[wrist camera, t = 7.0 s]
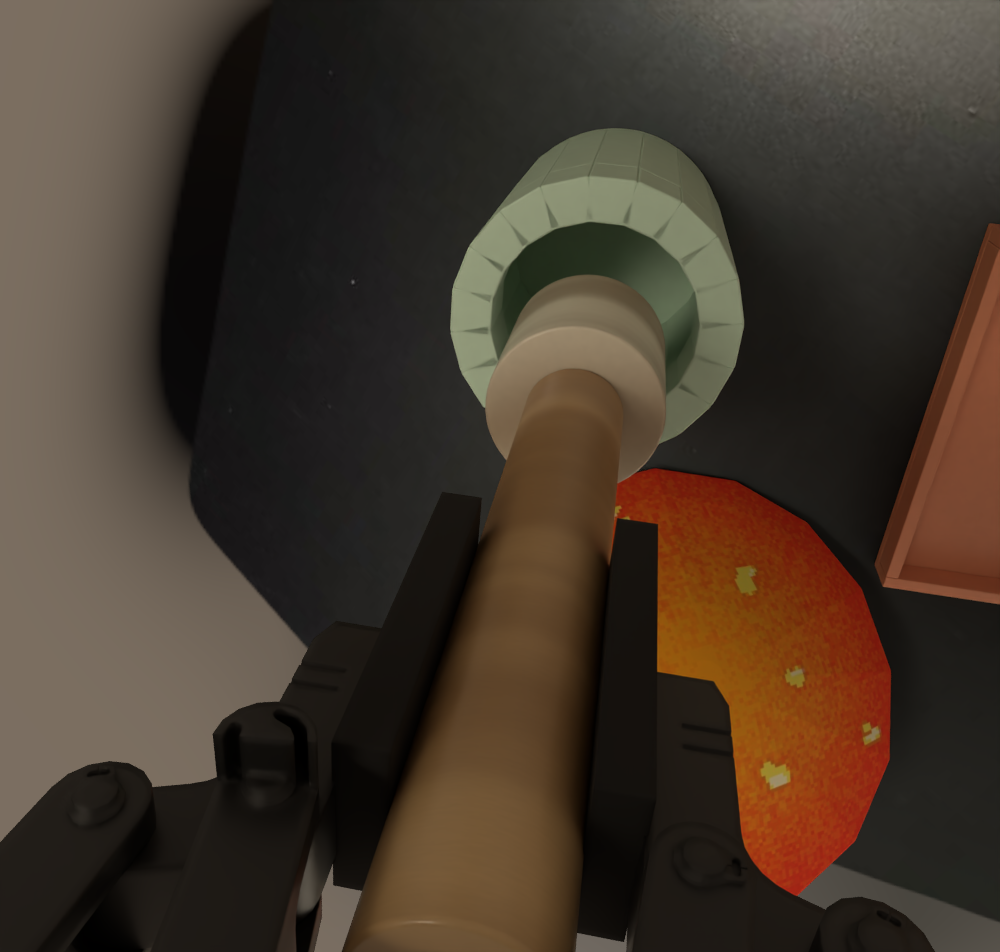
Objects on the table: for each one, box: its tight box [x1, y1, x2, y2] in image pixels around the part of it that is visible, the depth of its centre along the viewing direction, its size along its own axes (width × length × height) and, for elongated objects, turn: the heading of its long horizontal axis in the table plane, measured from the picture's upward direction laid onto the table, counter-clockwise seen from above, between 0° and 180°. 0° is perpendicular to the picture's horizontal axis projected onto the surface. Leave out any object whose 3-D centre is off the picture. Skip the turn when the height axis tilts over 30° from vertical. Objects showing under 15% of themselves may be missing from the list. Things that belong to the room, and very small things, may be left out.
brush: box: [342, 275, 666, 952], centre depth 19 cm, size 5×5×21 cm
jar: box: [450, 128, 744, 444], centre depth 35 cm, size 10×10×12 cm
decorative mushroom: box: [611, 468, 891, 896], centre depth 42 cm, size 15×21×15 cm
